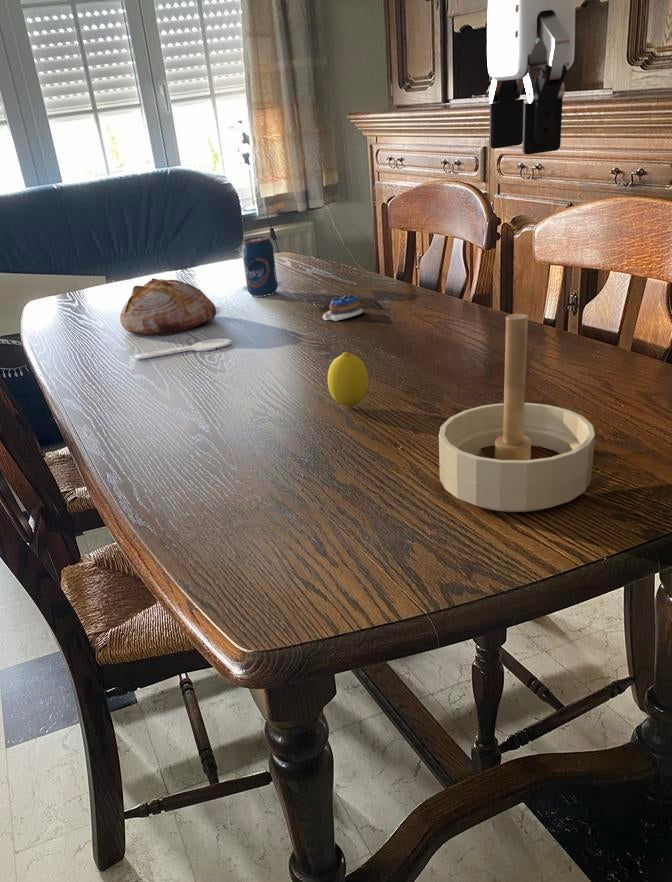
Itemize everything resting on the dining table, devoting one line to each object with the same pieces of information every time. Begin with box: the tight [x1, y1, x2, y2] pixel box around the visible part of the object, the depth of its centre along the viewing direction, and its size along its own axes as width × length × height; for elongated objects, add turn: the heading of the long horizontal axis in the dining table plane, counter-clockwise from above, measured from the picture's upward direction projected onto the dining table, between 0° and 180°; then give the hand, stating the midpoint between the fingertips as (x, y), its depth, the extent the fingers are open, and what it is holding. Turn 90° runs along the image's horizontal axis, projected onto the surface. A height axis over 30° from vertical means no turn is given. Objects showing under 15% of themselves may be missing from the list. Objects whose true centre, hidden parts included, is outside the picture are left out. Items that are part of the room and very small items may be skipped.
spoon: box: [133, 338, 232, 360], centre depth 138 cm, size 5×18×1 cm, turn 100°
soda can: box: [241, 236, 279, 297], centre depth 168 cm, size 7×7×12 cm
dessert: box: [322, 294, 364, 322], centre depth 146 cm, size 8×7×6 cm
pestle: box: [494, 313, 532, 460], centre depth 75 cm, size 4×4×17 cm
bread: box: [119, 277, 217, 337], centre depth 153 cm, size 16×20×10 cm
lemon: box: [327, 351, 370, 410], centre depth 102 cm, size 6×6×8 cm
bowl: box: [438, 402, 596, 513], centre depth 78 cm, size 15×15×6 cm
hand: (522, 149), depth 70 cm, fingers open, 9 cm apart
